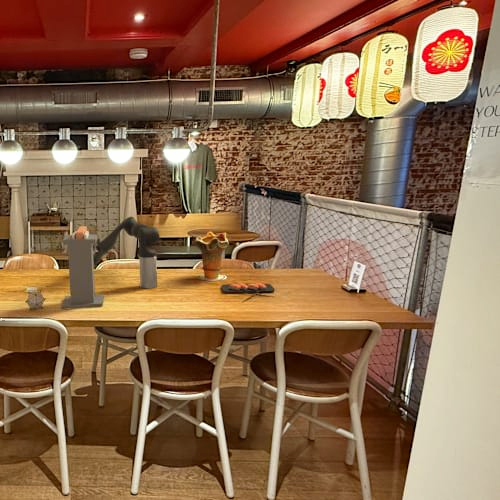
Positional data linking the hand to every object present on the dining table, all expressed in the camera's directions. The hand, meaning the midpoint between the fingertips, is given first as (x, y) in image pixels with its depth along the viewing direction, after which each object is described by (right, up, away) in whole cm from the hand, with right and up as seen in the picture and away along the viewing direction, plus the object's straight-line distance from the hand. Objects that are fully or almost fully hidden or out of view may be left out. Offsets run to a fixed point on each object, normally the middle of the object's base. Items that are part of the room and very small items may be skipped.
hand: (85, 238), depth 220 cm
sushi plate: (+88, -31, +4) cm, 93 cm away
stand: (+6, -32, -18) cm, 37 cm away
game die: (-11, -34, -29) cm, 46 cm away
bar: (+5, +1, -18) cm, 19 cm away
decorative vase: (+64, -23, +36) cm, 77 cm away
